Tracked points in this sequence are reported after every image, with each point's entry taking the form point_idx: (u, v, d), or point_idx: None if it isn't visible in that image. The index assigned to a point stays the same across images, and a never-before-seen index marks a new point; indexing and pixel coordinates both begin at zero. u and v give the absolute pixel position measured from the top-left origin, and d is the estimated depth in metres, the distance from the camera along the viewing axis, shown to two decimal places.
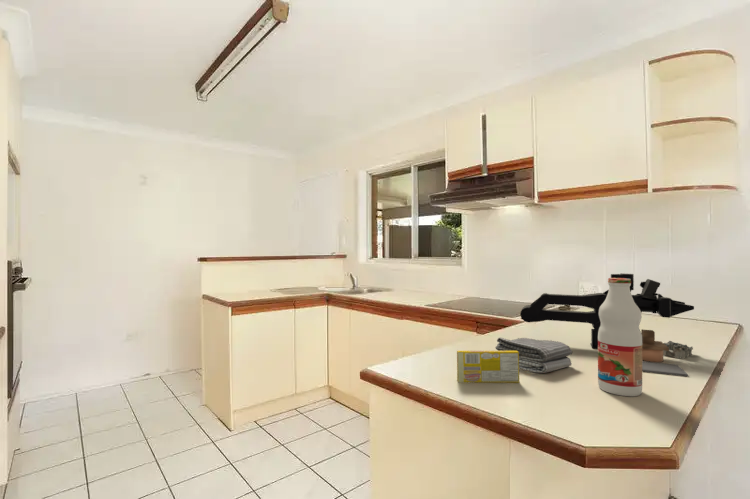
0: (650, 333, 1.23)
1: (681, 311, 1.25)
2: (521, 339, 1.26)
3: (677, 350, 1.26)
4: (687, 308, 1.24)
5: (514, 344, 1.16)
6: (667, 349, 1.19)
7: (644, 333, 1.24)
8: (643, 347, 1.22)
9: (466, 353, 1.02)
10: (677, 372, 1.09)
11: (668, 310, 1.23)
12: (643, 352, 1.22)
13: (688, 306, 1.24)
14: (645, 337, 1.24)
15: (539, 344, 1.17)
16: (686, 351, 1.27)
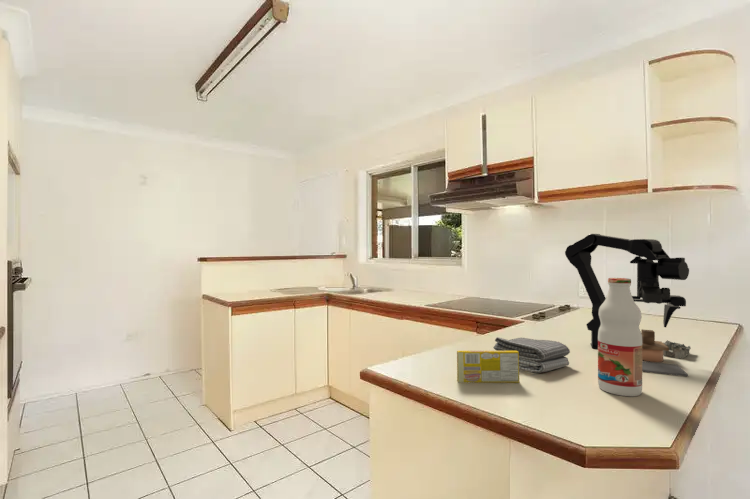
0: (650, 333, 1.23)
1: None
2: (519, 339, 1.27)
3: (677, 350, 1.26)
4: None
5: (512, 344, 1.17)
6: (667, 349, 1.19)
7: (644, 333, 1.24)
8: (643, 347, 1.22)
9: (466, 353, 1.02)
10: (677, 372, 1.09)
11: None
12: (643, 352, 1.22)
13: None
14: (645, 337, 1.24)
15: (537, 344, 1.17)
16: (685, 351, 1.27)
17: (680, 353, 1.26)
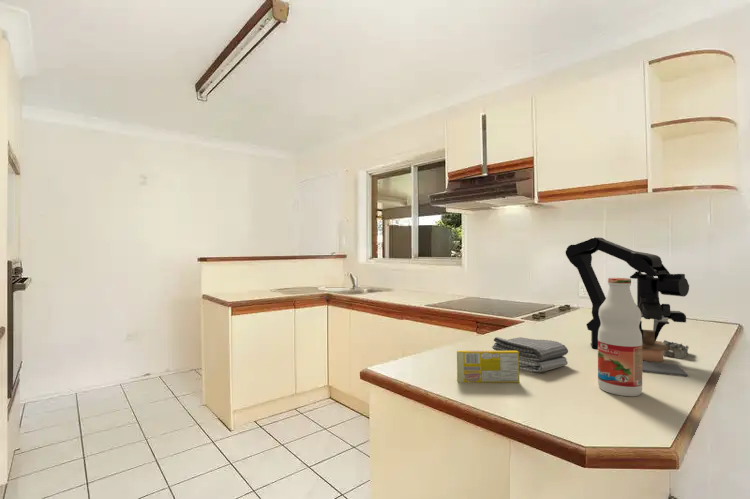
0: (650, 333, 1.23)
1: None
2: (518, 339, 1.27)
3: (677, 350, 1.26)
4: None
5: (511, 344, 1.17)
6: (667, 349, 1.19)
7: (644, 333, 1.24)
8: (643, 347, 1.22)
9: (466, 353, 1.03)
10: (677, 372, 1.09)
11: None
12: (643, 352, 1.22)
13: None
14: (645, 337, 1.24)
15: (535, 343, 1.17)
16: (684, 350, 1.28)
17: (680, 353, 1.26)
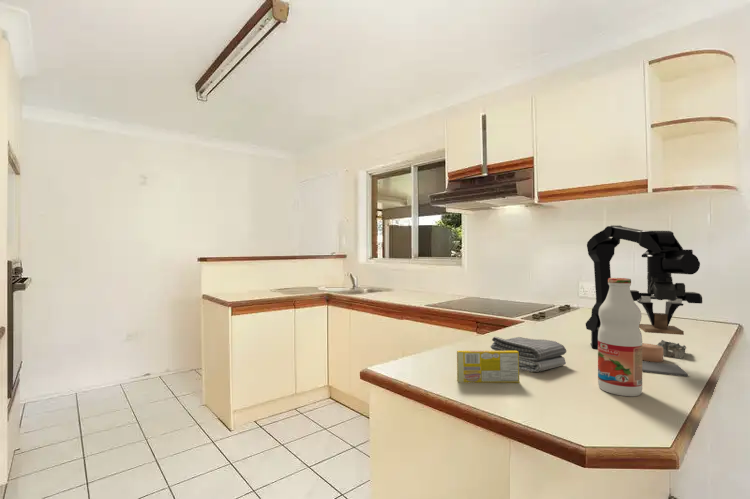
0: (662, 316, 1.12)
1: None
2: (516, 338, 1.27)
3: (677, 350, 1.26)
4: (649, 318, 1.15)
5: (509, 343, 1.17)
6: (682, 333, 1.08)
7: (656, 316, 1.13)
8: (655, 331, 1.11)
9: (466, 353, 1.03)
10: (677, 372, 1.09)
11: None
12: (643, 352, 1.22)
13: (650, 320, 1.15)
14: (657, 321, 1.13)
15: (534, 343, 1.18)
16: (683, 350, 1.28)
17: (680, 353, 1.26)
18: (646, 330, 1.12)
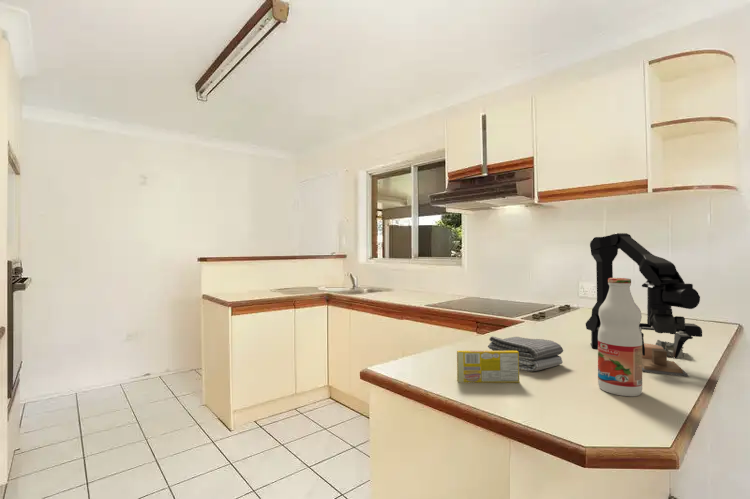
0: (662, 353, 1.12)
1: None
2: (513, 338, 1.28)
3: None
4: None
5: (506, 343, 1.18)
6: (681, 371, 1.08)
7: (655, 352, 1.13)
8: (654, 369, 1.11)
9: (466, 353, 1.02)
10: None
11: None
12: None
13: None
14: (656, 357, 1.13)
15: (531, 343, 1.18)
16: (681, 350, 1.29)
17: (679, 353, 1.26)
18: (645, 367, 1.12)
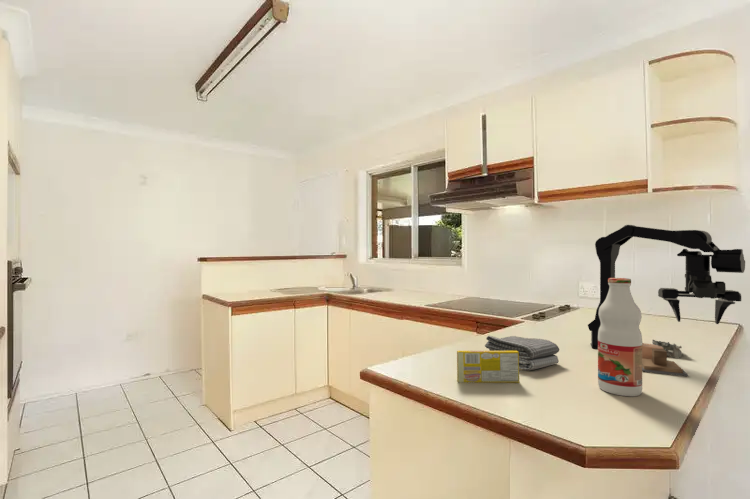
0: (662, 353, 1.12)
1: None
2: (510, 337, 1.29)
3: (677, 350, 1.26)
4: (675, 315, 1.20)
5: (502, 342, 1.19)
6: (681, 371, 1.08)
7: (655, 352, 1.13)
8: (654, 369, 1.11)
9: (466, 353, 1.02)
10: None
11: (659, 295, 1.22)
12: (643, 352, 1.22)
13: (676, 316, 1.19)
14: (656, 357, 1.13)
15: (527, 342, 1.19)
16: None
17: (678, 352, 1.26)
18: (645, 367, 1.12)
